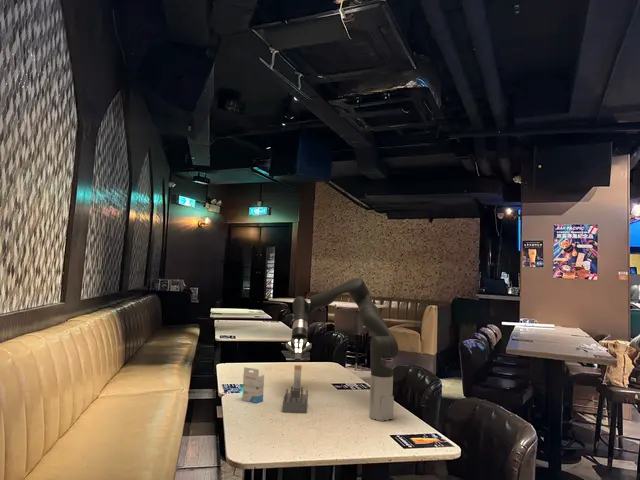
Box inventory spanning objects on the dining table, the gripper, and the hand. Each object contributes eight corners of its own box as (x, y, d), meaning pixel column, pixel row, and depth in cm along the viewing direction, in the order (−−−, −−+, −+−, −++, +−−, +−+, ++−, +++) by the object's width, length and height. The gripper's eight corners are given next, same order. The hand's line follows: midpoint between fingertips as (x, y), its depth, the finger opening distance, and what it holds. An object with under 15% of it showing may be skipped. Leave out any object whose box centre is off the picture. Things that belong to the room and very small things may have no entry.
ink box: (263, 401, 209) (265, 367, 210) (257, 403, 204) (259, 369, 206) (248, 398, 213) (250, 365, 214) (241, 400, 208) (243, 366, 210)
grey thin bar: (293, 389, 207) (294, 365, 208) (300, 389, 207) (301, 365, 208) (293, 389, 206) (294, 365, 207) (300, 390, 206) (301, 366, 207)
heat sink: (285, 402, 208) (286, 382, 209) (307, 403, 208) (308, 383, 209) (282, 412, 193) (283, 390, 194) (306, 413, 193) (307, 391, 194)
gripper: (313, 336, 230) (311, 366, 216) (286, 335, 230) (283, 365, 217) (313, 326, 225) (311, 356, 212) (286, 325, 225) (283, 355, 212)
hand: (297, 360), depth 214 cm, fingers closed
